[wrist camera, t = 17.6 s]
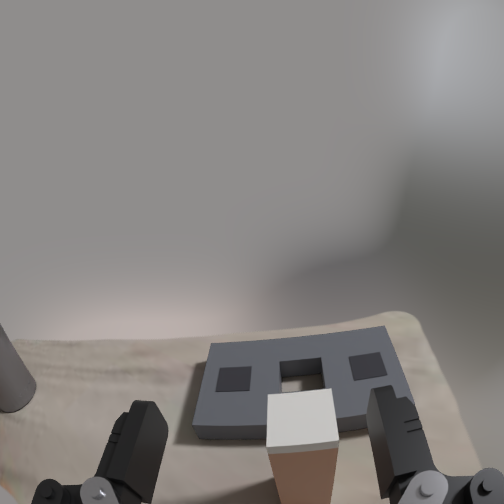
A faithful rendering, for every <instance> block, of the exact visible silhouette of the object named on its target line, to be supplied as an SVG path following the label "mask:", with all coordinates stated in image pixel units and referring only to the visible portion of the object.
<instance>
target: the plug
mask: <svg viewBox="0 0 504 504" xmlns="http://www.w3.org/2000/svg"><path fill="white" fill-rule="evenodd" d="M338 446H339V435H338V428H337V422H336V415H335V409H334V402H333V396H332V390H331V388H330V389H322V390H313V391H304V392H294V393H282V394H268V406H267V441H266V448H267V452H268V456H269V459H270V463H271V467H272V471H273V475H274V479H275V483H276V486H277V490H278V494H279V498H280V501H281V504H330V502H331V496H332V489H333V483H334V476H335V469H336V462H337V454H338Z"/></svg>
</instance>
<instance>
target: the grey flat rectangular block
mask: <svg viewBox="0 0 504 504" xmlns="http://www.w3.org/2000/svg"><path fill="white" fill-rule="evenodd" d="M319 373H321V374H322V381H323V389H330V388H331V390H332V396H333V402H334V409H335V415H336V422H337V428H338V432H344V431H351V430H358V429H364V428H368V427H367V418H366V414H367V407H368V402H369V396H370V391H371V389H372V388H377V387H382V386H388V385H392V387H393V389H394V391H395V395H396V398H401V397H405V396H406V397H407V398H408V399H409V400H410V401H411V402H412V403H413V404H414V405H415V403H414V400H413V397H412V394H411V391H410V389H409V386H408V383H407V381H406V378H405V375H404V373H403V370H402V367H401V365H400V362H399V360H398V357H397V355H396V352H395V350H394V347H393V345H392V342H391V340H390V338H389V335H388V333H387V330H386V328H385V326H379V327H373V328H366V329H359V330H352V331H344V332H336V333H328V334H320V335H311V336H302V337H292V338H281V339H270V340H257V341H243V342H227V343H211V346H210V350H209V354H208V358H207V363H206V367H205V371H204V375H203V379H202V384H201V388H200V392H199V397H198V401H197V405H196V410H195V414H194V418H193V423H192V426H193V428H194V430H195V432H196V434H197V436H198V437H199V439H267V406H268V394H282V382H281V377H289V376H300V375H310V374H319ZM316 390H322V389H316ZM307 391H313V390H307ZM296 392H304V391H296ZM285 393H294V392H285Z"/></svg>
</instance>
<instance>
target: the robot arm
mask: <svg viewBox="0 0 504 504" xmlns="http://www.w3.org/2000/svg"><path fill="white" fill-rule="evenodd" d="M35 390H36V382H35V380H34V378H33V377H32V375H31V374H30V372H29V371H28V369H27V368H26V366H25V365H24V363H23V361H22V360H21V358H20V357H19V355H18V353H17V352H16V350H15V348H14V347H13V345H12V343H11V342H10V340H9V338H8V337H7V335H6V333H5V331H4V330H3V328H2V326H1V324H0V409H1V410H2V411H4V412H14V411H16V410H19V409H21V408H22V407H23V406H25V405H26V404H27V403H28V402H29V401H30V400H31V398H32V397H33V395H34V393H35ZM366 418H367V427H368V431H369V436H370V441H371V446H372V451H373V456H374V462H375V467H376V472H377V478H378V484H379V490H380V496H381V499H384V498H389V499H390V504H504V476H503V474H502V473H501V472H500V471H498V470H497V469H494V468H485V469H483V470H481V471H479V472H478V473H477V474H476V475H475V476H456V477H453V476H447V475H444V474H442V473H441V472H439V471H438V470H437V468H436V467H435V465H434V463H433V460H432V457H431V453H430V450H429V447H428V443H427V440H426V437H425V434H424V431H423V430H422V425H421V422H420V420H419V416H418V413H417V410H416V407H415V405H414V404H413V403H412V402H411V401H410V400H409V399H408V398H407V397H406V396H405V397H401V398H396V395H395V391H394V389H393V387H392V385H388V386H382V387H377V388H372V389H371V391H370V396H369V402H368V407H367V414H366ZM111 433H112V434H110V437H109V440H108V443H107V445H106V448H105V450H104V453H103V456H102V458H101V461H100V464H99V466H98V469H97V472H96V474H95V476H94V477H92V478H89V479H88V480H86V481H85V482H84V483H83V484H81V485H61V484H60V483H58V482H57V481H56V480H53V479H46V480H44V481H42V482H41V483H40V484H39V485H38V486H37V488H36V491H35V494H34V497H33V500H32V503H31V504H141V502H143V503H148V504H151V502H152V497H153V493H154V489H155V485H156V481H157V477H158V473H159V469H160V465H161V461H162V457H163V453H164V449H165V445H166V441H167V438H168V425H167V422H166V420H165V419H164V417H163V415H162V414H161V412H160V410H159V409H158V407H157V405H156V404H155V402H153V401H140V400H135V401H134V402H133V403H132V405H131V408H130V411H129V413H128V412H123V414H122V415H121V416H120V417H119V418H118V419H117V420H116V421H115V424H114V427H113V429H112V432H111Z"/></svg>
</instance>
